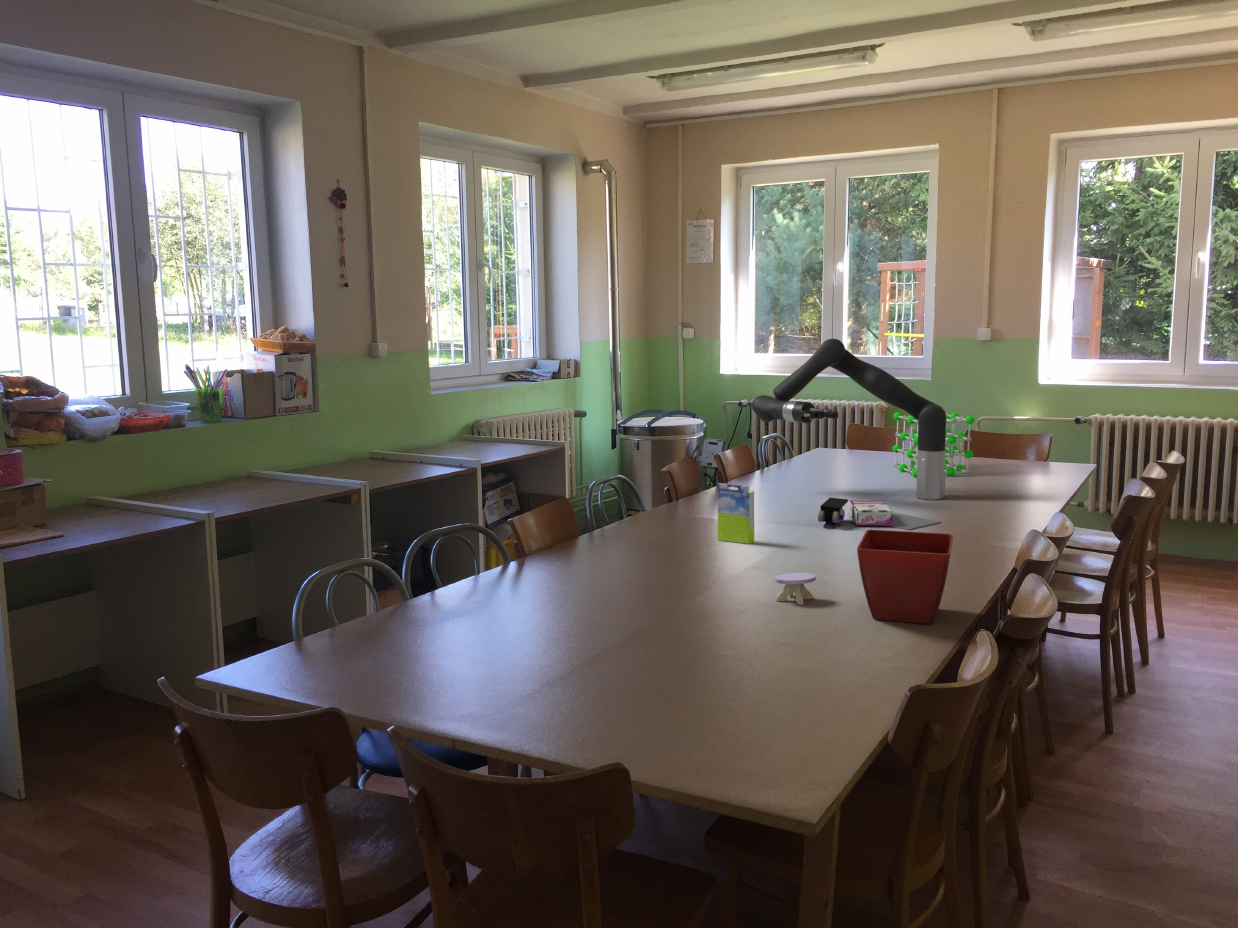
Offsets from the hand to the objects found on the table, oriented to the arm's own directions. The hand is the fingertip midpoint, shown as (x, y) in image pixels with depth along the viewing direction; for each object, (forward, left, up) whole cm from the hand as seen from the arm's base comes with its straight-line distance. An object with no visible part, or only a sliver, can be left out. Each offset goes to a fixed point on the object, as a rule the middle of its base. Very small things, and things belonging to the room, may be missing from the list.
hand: (836, 415), depth 329 cm
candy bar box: (+3, +16, -29) cm, 33 cm away
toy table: (+89, +66, -32) cm, 115 cm away
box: (+60, +14, -32) cm, 69 cm away
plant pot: (+78, +89, -32) cm, 123 cm away
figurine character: (+21, +17, -32) cm, 42 cm away
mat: (+2, +29, -32) cm, 43 cm away
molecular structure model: (-84, -23, -32) cm, 93 cm away
